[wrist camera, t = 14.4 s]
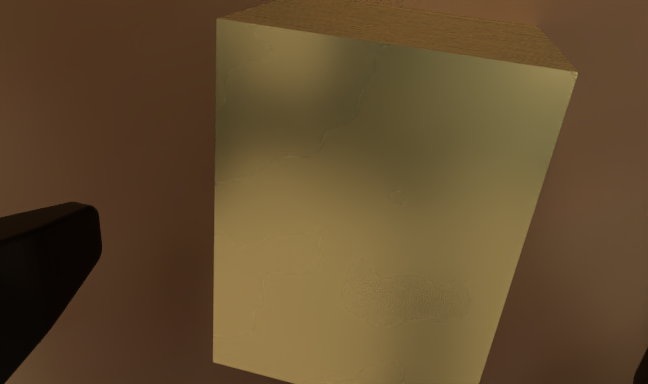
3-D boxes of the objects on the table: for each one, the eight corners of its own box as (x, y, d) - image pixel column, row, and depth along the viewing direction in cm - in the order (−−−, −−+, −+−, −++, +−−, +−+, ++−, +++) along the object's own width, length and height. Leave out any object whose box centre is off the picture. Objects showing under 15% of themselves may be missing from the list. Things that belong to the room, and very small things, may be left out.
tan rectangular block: (464, 290, 12) (464, 427, 9) (280, 249, 13) (212, 361, 10) (536, 25, 10) (579, 72, 6) (299, -8, 10) (216, 18, 7)
